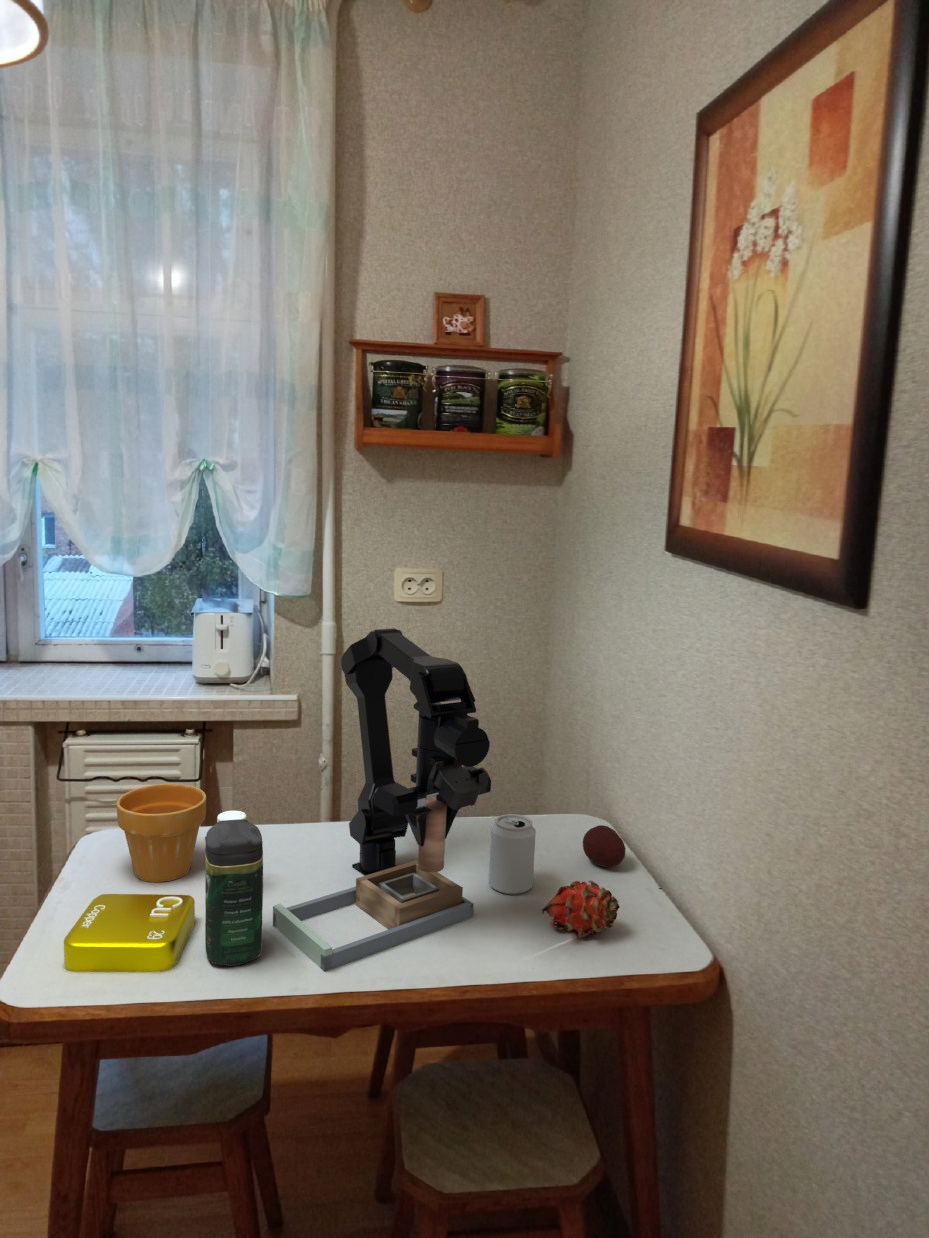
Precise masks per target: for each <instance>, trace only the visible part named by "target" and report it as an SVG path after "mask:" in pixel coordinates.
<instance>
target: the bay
mask: <svg viewBox="0 0 929 1238" xmlns="http://www.w3.org/2000/svg"><path fill="white" fill-rule="evenodd" d="M353 904H354V905H355V904H356V886H353V887H349V888H346V889H343V890H341V891H339V890H338V891H336V892H334V893H330V894H327V895H323V896H321V897H316V898H314V899H309V900H307V901H305V902H301V903H297V904H294V905H291V906H287V907H285V906H284V905H283V904H281V903H277V904H274V905H272V927H274V929H276V930H277V931H278V932H279V933H280V934H281V935H283V937H285V938H286V940H288V941H289V942H290V943H291V944H293V945H294V946H295V947H296V948H297V949H298V950H299V951H300V952H301V953H303V954H304V955H305V956H306V957H308V959H309V960H310V961H312V962H313V964H315V965H316V966H317V967H318V968H319V969H320V970H322V971H323V972H328V971H330V970H333V969H335V968H338V967H341V966H344V965H346V964H349V963H352V962H355V961H357V960H360V959H363V958H365V957H368V956H371V955H373V954H376V953H379V952H382V951H384V950H387V949H391V948H393V947H395V946H398V945H400V944H404V943H406V942H409V941H412V940H415V939H417V938H420V937H423V936H425V935H428V934H430V933H433V932H437V931H439V930H442V929H444V928H448V927H449V926H452V925H455V924H457V923H461V922H463V921H467V920H469V919H472V918H473V917H474V906H475V905H474V904H475V903H473V902H472V901H470V900H469V899H467V898H465V897H464V896H462V904H460V905H457V906H454V907H451V908H449V909H446V910H443V911H440V912H437V913H434V914H432V915H429V916H426V917H423V918H420V919H417V920H414V921H412V922H409V923H406V924H403V925H400V926H397V927H395V928H392V929H386V930H383V931H380V932H378V933H375V934H371V935H369V936H367V937H364V938H361V939H358V940H355V941H353V942H352V941H351V942H350V943H347V944H344V945H341V946H339V947H335V948H333V946H331V945H330V944H329V943H328V942H327V941H326V940H325V939H323V938H322V937H321V936H319V935H318V934H317V933H316V932H314V930H312V929H311V928H310V927H309V926H308V925H306V923H304V922H303V921H304V920H307V919H310V918H314V917H316V916H319V915H323V914H326V913H328V912H332V911H336V910H338V909H339V910H340V909H341V908H344V907H349V906H351V905H353Z"/></svg>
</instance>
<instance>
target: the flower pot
mask: <svg viewBox="0 0 929 1238" xmlns="http://www.w3.org/2000/svg"><path fill="white" fill-rule="evenodd" d="M206 816H207V795H206V792H204V791H203V790H202V789H201V788H199V787H196V786H194V785H188V784H182V783H181V784H180V783H158V784H151V785H146V786H141V787H138V788H137V787H136V788H133V789H132V790H129V791H127V792H125V793H123V794H122V795H121V796H120V797H119V798H118V799H117V800H116V820H117V824H118V827H119V828H120V829H121V830H122V831H123V832H124V836H125V840H126V844H127V847H128V851H129V857H130V860H131V862H132V863H131V864H132V867H133V871H134V874H135V876H136V877H137V878H138V879H139V880H142V881H144V882H151V883H162V882H171V881H174V880H177V879H180V878H183V877H184V876H186V875H187V874H188V873H189V871H190V869H191V865H192V860H193V857H194V853H195V848H196V844H197V838H198V834H199V830H200V825H202V824H203V822H204V821H205V820H206Z"/></svg>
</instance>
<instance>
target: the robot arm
mask: <svg viewBox="0 0 929 1238" xmlns="http://www.w3.org/2000/svg"><path fill="white" fill-rule="evenodd" d="M340 665H341V670H342V673H343V674H344V678H345V679H344V680H345V684H346V686H347V687H348V689H349V690H350V691H351V692H352V694H353V695H354V696H355V697H356V701H357V710H358V720H359V721H358V722H359V730H360V731H359V732H360V740H361V751H362V760H363V769H364V778H365V781H364V782H365V783H364V785H363V788H362V790H361V792H360V793H359V796H358V798H357V806H358V807H357V810H358V811H357V812H356V814H355V815H353V817H352V819H351V820H350V822H349V823H348V828H349V835H350V837H351V838H352V839H354V840H355V841H356V842H357V843H358V844H359V862H356V863H352V865H351V868H352V869H354V870H355V871H356V872H358V873H360V874H361V875H362V876H366V875H369V874H372V873H376V872H379V871H382V870H386V869H389V868H392V867H396V866H399V865H397V864H396V861H397V859H396V858H397V854H396V853H397V851H396V839H397V838H404V837H406V834H407V831H408V826H409V827H410V830H411V832H412V834H413V838H414V840H415V841H416V844H417V845H418V847H419V846H421V847H422V846H423V845H424V840H425V827H426V816H427V815H428V814H429V813H430V812H431V809H429V808H427V807H426V801H427V800H428V799H427V798H430V797H433V796H435V799H436V800H435V801H441V802H444V803H445V804H446V805H447V814H446V833H445V840H446V839H447V837H448V835H449V833H450V831H451V828H452V825H453V824H454V821H455V818H456V816H457V814H458V813H459V810H461V809H462V808H466V807H469V806H470V807H471V806H475V805H476V803H477V800H478V797H479V796H480V795H483V794H487V793H491V791H492V778H491V776H490V775H489V773H488V771H487V770H486V769H485V768H484V767H478V768H477V767H475V766H477V765H479V764H481V763H482V762H483V761H484V760H485V759H486V757H487V755H488V753H489V751H490V746H491V741H490V739H489V736H488V735H487V732H486V731H485V730H484V729H482V728H481V727H479V724H480V721H479V719H478V717H477V718H476V717H475V716H470V714H475V713H476V712H477V707H476V704H475V702H476V698H475V696H474V694H473V692H472V689H471V687H470V685H469V680H468V677H467V674H466V672H465V670H464V669H463V667H462V666H461V665H460V663H459V662H456V661H454V660H451V659H448V658H444V657H443V658H442V657H436V656H432V655H431V654H429V653H428V652H427V651H425V650H423V649H422V648H421V647H419V646H418V645H417V644H415V643H414V642H412V641H411V640H410V639H409V638H407V637H406V636H404V635H403V632H402V631H401V629H397V628H394V627H393V628H378V629H377V628H376V629H374V630H372V631H369V633H368V634H367V635H366V636H365V637H362V639H359V640H357V641H356V642H354V643H351V644H350V645H349V647H348V648H347V649H346V650H345V652H343V654H342V655H341V661H340ZM393 669H396V670H397V671H398V672H399V673H401V674H402V675H403V676H404V677H405V678H406V679H408V681H409V682H410V683H409V691H410V692H411V693H412V695H413V696H414V697H415V699H416V702H415V703H414V704H413V709H414V710H416V711H417V712H418V724H417V728H418V729H417V743H416V744H417V745H416V747H415V748H411V756H412V757H415V758H416V768H415V769H416V771H415V773H412V774H410V782H412V783H414V784H415V786H413V787H410V788H408V787H406V786H405V785H402V783H399V782H396V781H395V777H394V769H393V768H394V767H393V759H392V758H393V757H392V748H391V739H390V730H389V720H388V719H389V718H388V712H387V711H388V710H387V703H386V702H387V701H386V694H387V691H388V689H389V687H390V685H391V683H392V681H393V677H394V676H393V675H394V674H393ZM459 700H460V701H459ZM453 701H456V702H453ZM443 702H449V703H443Z"/></svg>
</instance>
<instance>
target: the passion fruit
mask: <svg viewBox="0 0 929 1238" xmlns="http://www.w3.org/2000/svg"><path fill="white" fill-rule="evenodd" d="M582 847H583V848H582V849H583V850H582V851H583V853H584V854H585V856H586V857H587V859H588V860H590V861H591V862H593V863H595V864H596V865H598V866H601V867H604V868H614V867H615V868H616V867H617V866H620V864H621V863H622V862H623V861H624V859H625V857H626V846H625V843H624V840H623V839H622V838H621V837H620V835H619V834H618V832H617V831H615V829H613V828H612V827H609V826H607V825H603V824H602V825H596V826H594V827H592V828H589V830H587V831H586V833H585V834H584V835H583V839H582Z"/></svg>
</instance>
